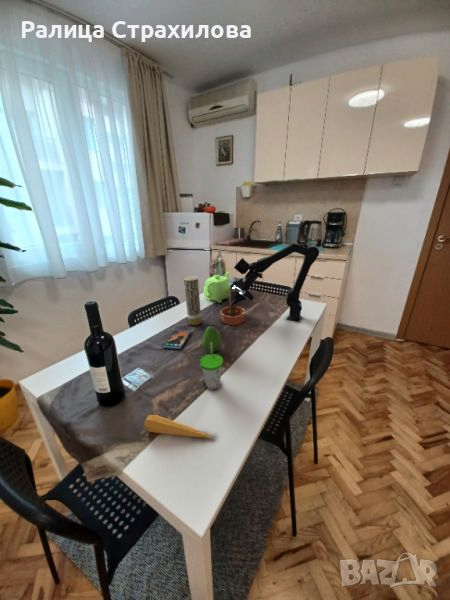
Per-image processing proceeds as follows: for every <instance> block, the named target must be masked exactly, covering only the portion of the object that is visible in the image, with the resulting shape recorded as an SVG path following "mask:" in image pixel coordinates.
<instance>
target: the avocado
mask: <svg viewBox="0 0 450 600" xmlns="http://www.w3.org/2000/svg"><path fill="white" fill-rule="evenodd" d="M201 340H202V342H201V343H202V347H203V348H204V350H205V351H206V352H207V353H209V354H211V342H212V352H213V353H216V352H217V351H218V350H219V349H220V348H221V345H222V337H221V335H220V332H219V331H218V329H217V328H216V327H214V326H212V325H209V326H207V327H206V328H205V331H204V333H203V336H202V339H201Z"/></svg>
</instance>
